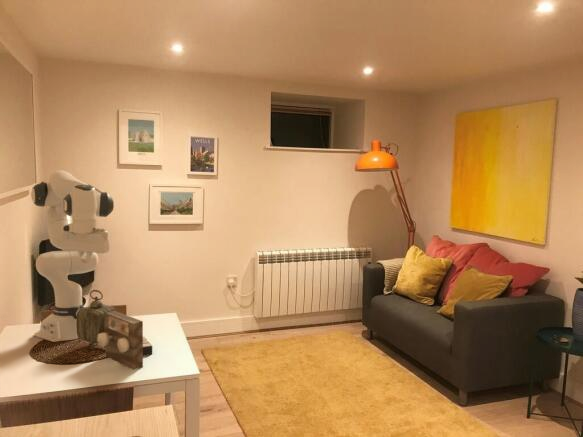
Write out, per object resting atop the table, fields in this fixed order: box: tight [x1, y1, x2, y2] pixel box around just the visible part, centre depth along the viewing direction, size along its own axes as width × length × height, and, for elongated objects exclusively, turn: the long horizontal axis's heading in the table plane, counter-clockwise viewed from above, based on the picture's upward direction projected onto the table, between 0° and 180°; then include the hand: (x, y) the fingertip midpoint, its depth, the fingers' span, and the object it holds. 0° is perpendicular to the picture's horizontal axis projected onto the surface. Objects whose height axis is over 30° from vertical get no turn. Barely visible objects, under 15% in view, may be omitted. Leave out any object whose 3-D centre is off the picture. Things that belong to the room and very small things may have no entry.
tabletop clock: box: [76, 289, 116, 350], centre depth 202 cm, size 14×9×25 cm, turn 66°
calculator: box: [143, 335, 153, 357], centre depth 202 cm, size 11×4×15 cm
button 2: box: [117, 338, 130, 353], centre depth 185 cm, size 7×5×5 cm
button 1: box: [97, 332, 113, 348], centre depth 190 cm, size 7×5×5 cm
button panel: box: [105, 310, 144, 371], centre depth 189 cm, size 4×20×18 cm, turn 51°
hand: (85, 262), depth 186 cm, fingers closed
